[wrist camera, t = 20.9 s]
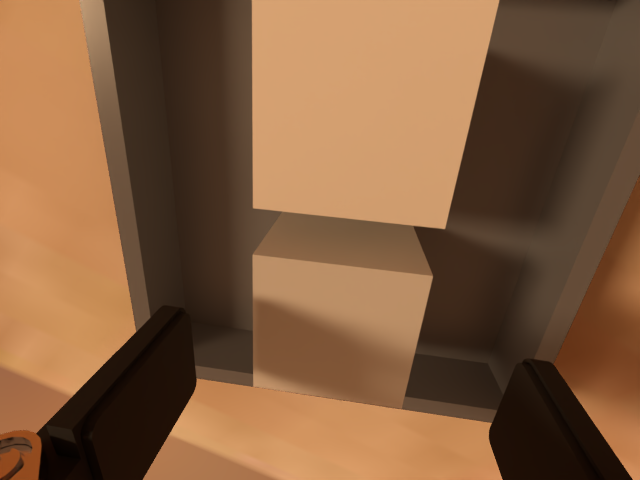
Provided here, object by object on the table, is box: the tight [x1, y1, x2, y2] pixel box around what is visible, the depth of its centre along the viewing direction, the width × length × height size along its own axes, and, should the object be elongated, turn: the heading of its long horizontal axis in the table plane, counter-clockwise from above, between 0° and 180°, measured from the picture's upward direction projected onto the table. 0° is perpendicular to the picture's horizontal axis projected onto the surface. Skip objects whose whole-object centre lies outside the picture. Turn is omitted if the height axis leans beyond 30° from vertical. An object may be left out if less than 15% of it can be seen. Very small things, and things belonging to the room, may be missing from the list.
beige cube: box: [253, 212, 433, 409], centre depth 14 cm, size 6×6×6 cm
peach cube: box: [252, 0, 499, 229], centre depth 11 cm, size 6×6×6 cm
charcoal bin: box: [79, 0, 640, 423], centre depth 14 cm, size 18×18×4 cm
